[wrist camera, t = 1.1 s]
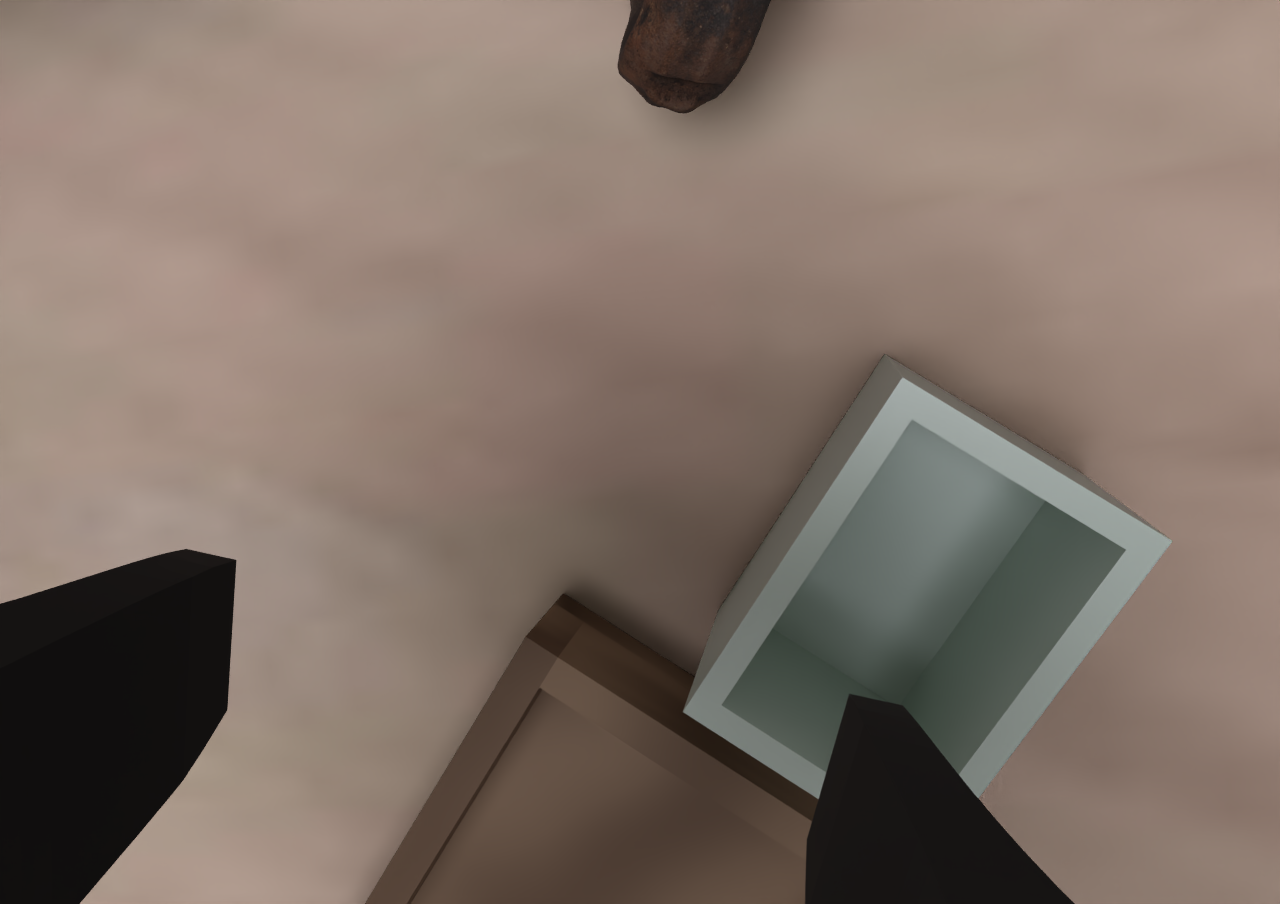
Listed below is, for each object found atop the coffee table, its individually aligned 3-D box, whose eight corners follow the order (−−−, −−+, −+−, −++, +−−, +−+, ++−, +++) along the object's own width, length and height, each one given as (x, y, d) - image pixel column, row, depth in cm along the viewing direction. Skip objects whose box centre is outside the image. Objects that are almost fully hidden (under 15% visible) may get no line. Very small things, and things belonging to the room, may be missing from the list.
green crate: (1085, 475, 23) (1172, 541, 17) (903, 728, 24) (925, 868, 18) (884, 354, 23) (902, 377, 17) (718, 611, 25) (682, 711, 19)
